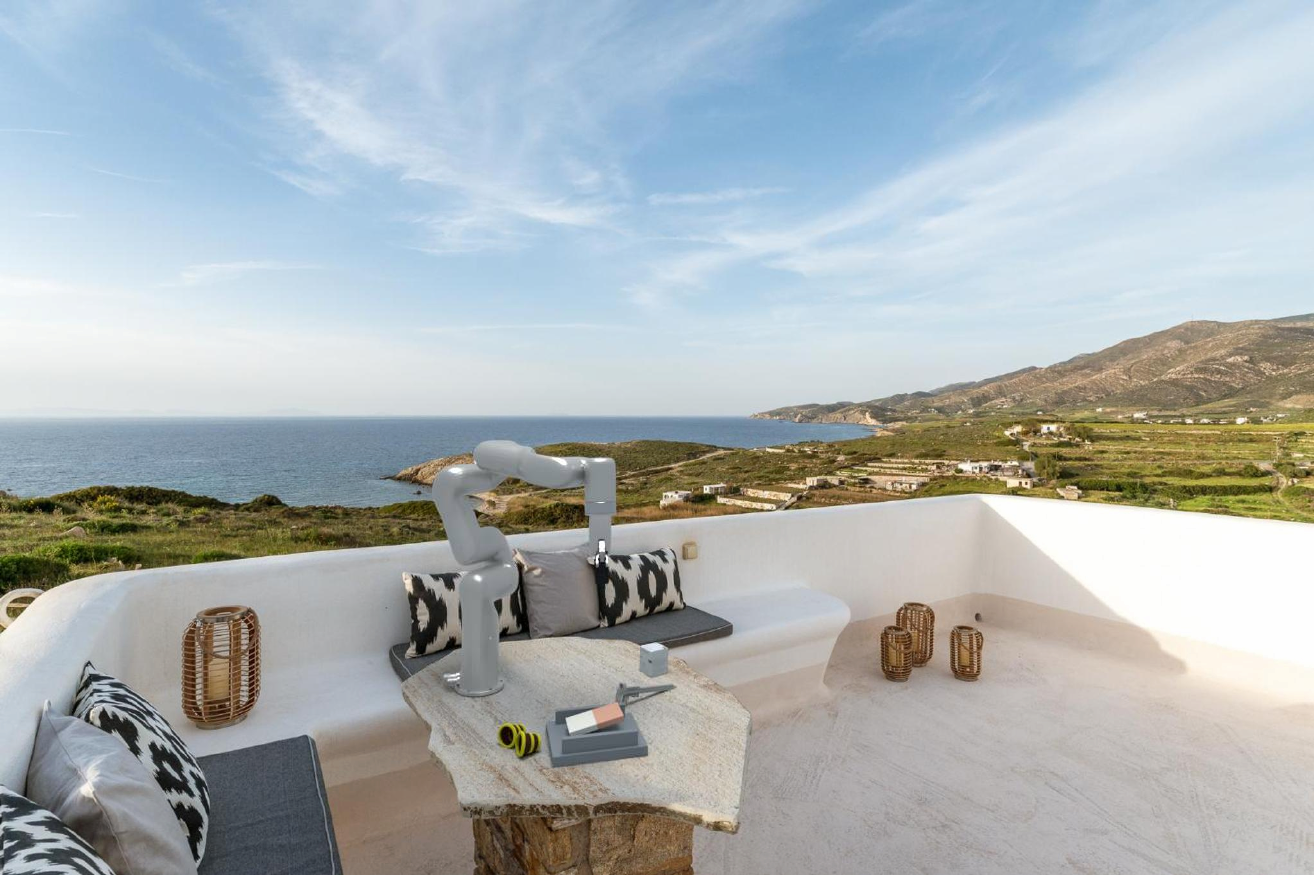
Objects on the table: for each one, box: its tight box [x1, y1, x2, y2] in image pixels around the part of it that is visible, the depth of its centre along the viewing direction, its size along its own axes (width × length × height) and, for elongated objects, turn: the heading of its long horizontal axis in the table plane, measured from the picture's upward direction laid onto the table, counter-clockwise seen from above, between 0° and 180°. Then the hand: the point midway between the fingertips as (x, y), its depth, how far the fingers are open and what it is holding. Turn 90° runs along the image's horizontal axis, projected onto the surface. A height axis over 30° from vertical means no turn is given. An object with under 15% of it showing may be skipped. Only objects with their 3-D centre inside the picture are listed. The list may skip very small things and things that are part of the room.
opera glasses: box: [497, 722, 542, 758], centre depth 132 cm, size 10×5×5 cm, turn 46°
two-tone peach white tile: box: [566, 701, 625, 736], centre depth 135 cm, size 12×7×1 cm, turn 106°
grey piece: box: [545, 701, 649, 768], centre depth 135 cm, size 20×16×5 cm
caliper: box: [614, 682, 677, 707], centre depth 159 cm, size 20×1×6 cm, turn 133°
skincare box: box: [638, 642, 669, 678], centre depth 176 cm, size 6×6×7 cm
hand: (601, 579), depth 148 cm, fingers open, 9 cm apart
